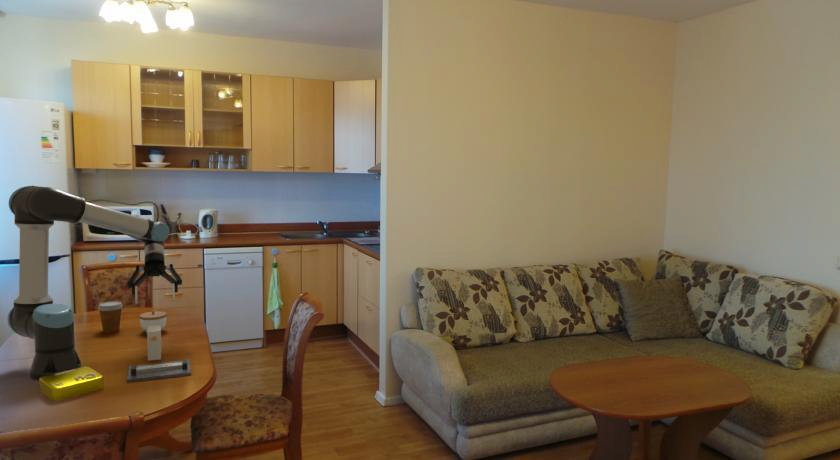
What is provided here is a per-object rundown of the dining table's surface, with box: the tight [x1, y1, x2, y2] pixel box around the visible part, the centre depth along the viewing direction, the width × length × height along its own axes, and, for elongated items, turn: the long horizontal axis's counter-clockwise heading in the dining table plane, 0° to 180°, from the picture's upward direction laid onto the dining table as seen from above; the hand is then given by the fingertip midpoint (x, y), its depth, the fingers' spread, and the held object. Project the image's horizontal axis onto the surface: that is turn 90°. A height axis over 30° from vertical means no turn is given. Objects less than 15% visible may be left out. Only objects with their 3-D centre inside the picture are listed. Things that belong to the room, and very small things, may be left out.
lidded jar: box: [139, 309, 168, 334], centre depth 248 cm, size 11×11×9 cm
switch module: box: [146, 325, 162, 362], centre depth 215 cm, size 9×4×11 cm, turn 24°
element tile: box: [38, 366, 105, 401], centre depth 185 cm, size 15×15×5 cm
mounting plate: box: [126, 358, 192, 383], centre depth 201 cm, size 20×14×3 cm
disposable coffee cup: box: [97, 300, 123, 333], centre depth 248 cm, size 10×10×12 cm
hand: (155, 300), depth 224 cm, fingers open, 13 cm apart
